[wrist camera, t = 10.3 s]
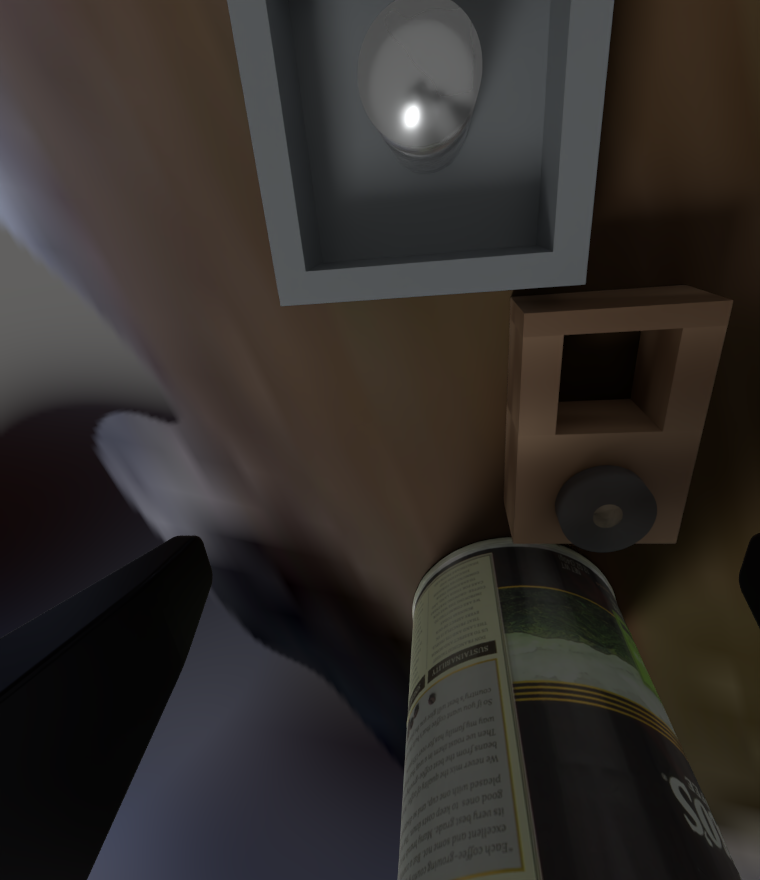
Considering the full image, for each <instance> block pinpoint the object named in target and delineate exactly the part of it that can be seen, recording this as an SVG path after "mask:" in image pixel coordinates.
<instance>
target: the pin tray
mask: <svg viewBox="0 0 760 880" xmlns="http://www.w3.org/2000/svg"><path fill="white" fill-rule="evenodd" d="M394 1H395V0H227V2H228V8H229V14H230V19H231V25H232V31H233V37H234V42H235V48H236V54H237V59H238V65H239V71H240V76H241V82H242V88H243V94H244V99H245V105H246V111H247V116H248V122H249V128H250V134H251V139H252V145H253V151H254V156H255V162H256V168H257V174H258V179H259V185H260V191H261V196H262V202H263V208H264V213H265V219H266V225H267V231H268V236H269V242H270V248H271V253H272V259H273V265H274V271H275V276H276V282H277V288H278V293H279V299H280V305H281V306H290V305H304V304H319V303H333V302H347V301H361V300H375V299H389V298H403V297H417V296H431V295H445V294H459V293H474V292H488V291H502V290H516V289H530V288H544V287H558V286H572V285H585V284H586V274H587V264H588V254H589V244H590V234H591V225H592V215H593V205H594V195H595V185H596V175H597V165H598V155H599V145H600V135H601V125H602V116H603V106H604V96H605V86H606V76H607V66H608V56H609V46H610V36H611V26H612V17H613V7H614V0H451V1H453V2H455V3H456V4H457V5H458V6H459V7H460V8H461V9H462V10H463V11H464V12H465V13H466V14H467V16H468V17H469V19H470V20H471V22H472V23H473V26H474V28H475V30H476V32H477V35H478V38H479V41H480V46H481V51H482V78H481V84H480V88H479V92H478V95H477V99H476V103H475V106H474V110H473V113H472V117H471V120H470V124H469V127H468V131H467V135H466V138H465V141H464V144H463V147H462V149H461V151H460V152H459V154H458V156H457V157H456V158H455V159H454V161H453V162H452V163H451V164H449V165H448V166H447V167H446V168H444V169H442V170H440V171H438V172H435V173H431V174H420V173H415V172H413V171H410V170H408V169H407V168H405V167H404V166H403V165H402V164H401V163H400V162H399V161H398V160H397V159H396V157H395V156H394V154H393V153H392V151H391V150H390V148H389V147H388V145H387V144H386V142H385V141H384V139H383V138H382V137H381V135H380V134H379V132H378V131H377V129H376V128H375V126H374V125H373V123H372V122H371V120H370V119H369V117H368V115H367V113H366V111H365V109H364V106H363V104H362V101H361V97H360V94H359V88H358V77H357V72H358V60H359V54H360V50H361V46H362V43H363V41H364V38H365V36H366V34H367V32H368V30H369V28H370V26H371V25H372V23H373V21H374V20H375V19H376V17H377V16H378V15H379V14H380V13H381V12H382V11H383V10H384V9H385V8H386V7H387V6H388V5H389V4H391V3H392V2H394Z"/></svg>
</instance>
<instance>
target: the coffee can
mask: <svg viewBox="0 0 760 880" xmlns="http://www.w3.org/2000/svg"><path fill="white" fill-rule="evenodd" d="M412 616H413V636H412V651H411V668H410V686H409V703H408V719H407V736H406V754H405V770H404V786H403V803H402V819H401V837H400V854H399V869H398V880H742V879H741V877H740V874H739V873H738V871H737V869H736V867H735V864H734V862H733V860H732V858H731V856H730V853H729V851H728V849H727V846H726V844H725V842H724V840H723V837H722V835H721V833H720V831H719V828H718V825H717V824H716V822H715V820H714V818H713V816H712V814H711V811H710V809H709V806H708V804H707V802H706V799H705V797H704V795H703V793H702V791H701V789H700V787H699V785H698V782H697V780H696V778H695V776H694V774H693V771H692V769H691V767H690V765H689V762H688V760H687V758H686V756H685V753H684V751H683V749H682V747H681V745H680V742H679V740H678V738H677V736H676V734H675V732H674V729H673V727H672V725H671V723H670V720H669V718H668V716H667V714H666V712H665V709H664V707H663V705H662V703H661V700H660V698H659V696H658V694H657V692H656V689H655V687H654V685H653V683H652V681H651V679H650V676H649V674H648V672H647V670H646V667H645V665H644V663H643V661H642V659H641V656H640V654H639V652H638V649H637V647H636V645H635V643H634V641H633V639H632V636H631V633H630V631H629V629H628V627H627V625H626V623H625V621H624V618H623V616H622V614H621V612H620V610H619V608H618V605H617V602H616V599H615V595H614V592H613V589H612V587H611V585H610V584H609V582H608V580H607V579H606V577H605V576H604V575H603V573H602V572H601V571H600V570H599V569H598V568H597V567H596V566H595V565H594V564H593V563H592V562H590V561H589V560H588V559H587V558H585V557H584V556H582V555H581V554H579V553H577V552H575V551H574V550H572V549H570V548H567V547H565V546H562V545H559V544H513V541H512V537H504V538H495V539H488V540H483V541H479V542H476V543H473V544H470V545H468V546H465V547H463V548H461V549H458V550H456V551H454V552H452V553H451V554H449V555H448V556H446V557H445V558H443V559H442V560H440V561H439V562H438V563H437V564H436V565H435V566H433V567H432V568H431V569H430V570H429V572H428V573H427V574H426V575H425V576H424V577H423V579H422V580H421V582H420V584H419V586H418V589H417V591H416V593H415V596H414V601H413V606H412Z"/></svg>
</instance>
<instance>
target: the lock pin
mask: <svg viewBox="0 0 760 880" xmlns="http://www.w3.org/2000/svg"><path fill="white" fill-rule="evenodd" d="M357 77H358V88H359V94H360V97H361V101H362V104H363V106H364V109H365V111H366V113H367V115H368V117H369V119H370V120H371V122H372V123H373V125H374V126H375V128H376V129H377V131H378V132H379V134H380V135H381V137H382V138H383V139H384V141H385V142H386V144H387V145H388V147H389V148H390V150H391V151H392V153H393V154H394V156H395V157H396V159H397V160H398V161H399V162H400V163H401V164H402V165H403V166H404V167H405V168H407V169H408V170H410V171H413V172H415V173H420V174H431V173H435V172H438V171H440V170H442V169H444V168H446V167H447V166H448V165H449V164H451V163H452V162H453V161H454V159H455V158H456V157H457V156H458V154H459V152H460V151H461V149H462V147H463V144H464V141H465V138H466V135H467V131H468V127H469V124H470V120H471V117H472V113H473V110H474V106H475V103H476V99H477V95H478V92H479V88H480V84H481V78H482V51H481V46H480V41H479V38H478V35H477V32H476V30H475V28H474V26H473V23H472V22H471V20H470V19H469V17H468V16H467V14H466V13H465V12H464V11H463V10H462V9H461V8H460V7H459V6H458V5H457V4H456V3H455V2H453V1H451V0H395V1H394V2H392V3H391V4H389V5H388V6H387V7H386V8H385V9H384V10H383V11H382V12H381V13H380V14H379V15H378V16H377V17H376V19H375V20H374V21H373V23H372V25H371V26H370V28H369V30H368V32H367V34H366V36H365V38H364V41H363V43H362V46H361V50H360V54H359V60H358V72H357Z"/></svg>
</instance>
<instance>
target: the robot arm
mask: <svg viewBox="0 0 760 880" xmlns="http://www.w3.org/2000/svg"><path fill="white" fill-rule="evenodd" d="M211 584H212V569H211V566H210V563H209V560H208V556H207V553H206V550H205V547H204V544H203V541H202V540H201V538H200V537H198V536H175V537H173V538H171V539H170V540H168V541H166V542H165V543H163V544H161V545H159V546H158V547H156V548H154V549H153V550H151V551H149V552H147V553H146V554H144V555H143V556H141V557H139V558H137V559H135V560H134V561H132V562H130V563H129V564H127V565H125V566H123V567H122V568H120V569H119V570H117V571H115V572H113V573H112V574H110V575H108V576H106V577H105V578H103V579H101V580H100V581H98V582H96V583H94V584H93V585H91V586H90V587H88V588H86V589H84V590H82V591H81V592H79V593H77V594H76V595H74V596H72V597H70V598H69V599H67V600H65V601H64V602H62V603H60V604H59V605H57V606H55V607H53V608H52V609H50V610H48V611H46V612H45V613H43V614H41V615H40V616H38V617H36V618H34V619H33V620H31V621H29V622H28V623H26V624H24V625H22V626H21V627H19V628H17V629H16V630H14V631H12V632H11V633H9V634H7V635H6V636H4V637H2V638H0V880H87V878H88V876H89V874H90V872H91V870H92V867H93V865H94V863H95V861H96V859H97V856H98V854H99V852H100V850H101V847H102V845H103V843H104V841H105V839H106V836H107V834H108V832H109V830H110V828H111V825H112V823H113V821H114V819H115V817H116V814H117V812H118V810H119V808H120V806H121V803H122V801H123V799H124V797H125V794H126V792H127V790H128V788H129V786H130V784H131V781H132V779H133V777H134V774H135V772H136V770H137V768H138V766H139V764H140V761H141V759H142V757H143V755H144V753H145V750H146V748H147V746H148V744H149V742H150V739H151V737H152V735H153V733H154V730H155V728H156V726H157V724H158V722H159V719H160V717H161V715H162V713H163V711H164V709H165V706H166V704H167V702H168V699H169V697H170V695H171V693H172V691H173V689H174V687H175V684H176V682H177V680H178V678H179V675H180V673H181V671H182V668H183V666H184V663H185V661H186V658H187V655H188V652H189V650H190V647H191V644H192V641H193V638H194V635H195V632H196V629H197V626H198V623H199V620H200V617H201V614H202V611H203V608H204V605H205V602H206V599H207V596H208V593H209V590H210V587H211ZM739 584H740V588H741V591H742V593H743V595H744V597H745V599H746V601H747V603H748V605H749V607H750V609H751V612H752V614H753V616H754V618H755V620H756V622H757V624H758V626H759V628H760V533H758V534H756V535H754V536H753V537H752V538H751V540H750V542H749V545H748V548H747V551H746V554H745V557H744V561H743V564H742V567H741V570H740V574H739Z"/></svg>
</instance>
